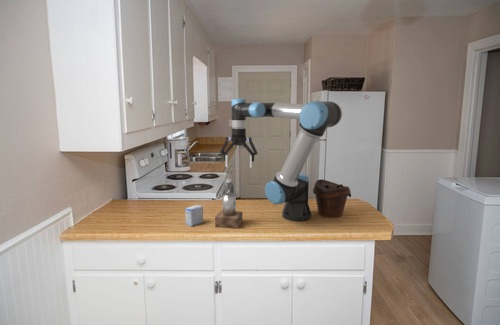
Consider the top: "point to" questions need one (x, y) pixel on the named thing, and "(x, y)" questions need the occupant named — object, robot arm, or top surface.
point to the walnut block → (228, 220)
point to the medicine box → (194, 215)
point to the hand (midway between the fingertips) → (238, 167)
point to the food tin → (229, 204)
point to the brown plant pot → (330, 198)
